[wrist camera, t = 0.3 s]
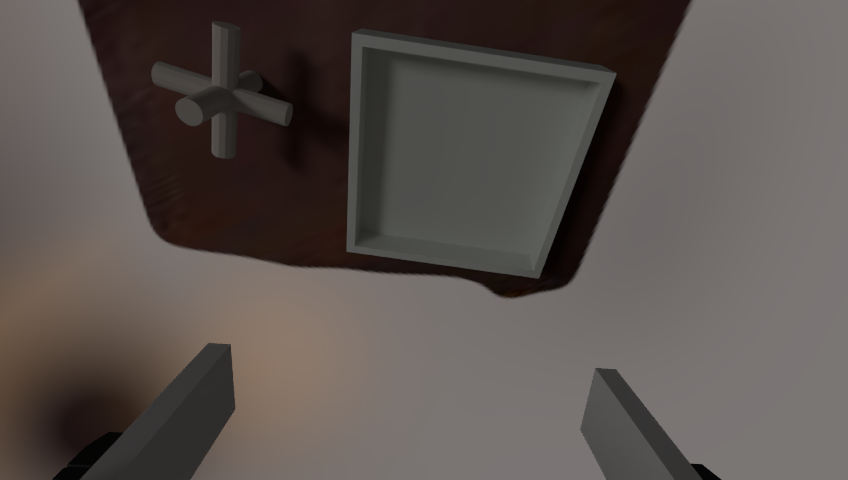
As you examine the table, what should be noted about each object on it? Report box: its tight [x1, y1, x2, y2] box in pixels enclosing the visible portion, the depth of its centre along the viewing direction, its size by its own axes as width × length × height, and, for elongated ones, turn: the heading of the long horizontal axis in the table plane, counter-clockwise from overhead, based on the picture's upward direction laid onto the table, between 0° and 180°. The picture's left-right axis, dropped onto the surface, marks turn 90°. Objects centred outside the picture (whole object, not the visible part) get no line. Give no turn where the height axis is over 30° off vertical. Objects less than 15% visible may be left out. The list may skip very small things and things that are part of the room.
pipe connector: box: [152, 21, 293, 159], centre depth 30 cm, size 10×10×10 cm
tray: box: [347, 29, 617, 278], centre depth 36 cm, size 20×20×4 cm
